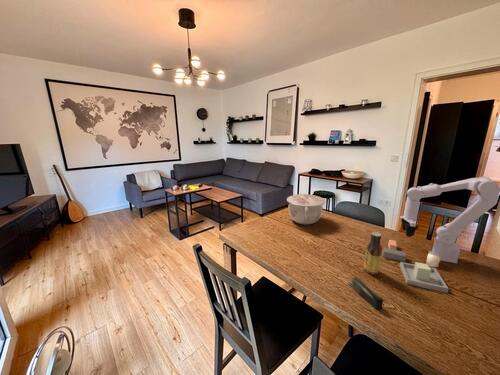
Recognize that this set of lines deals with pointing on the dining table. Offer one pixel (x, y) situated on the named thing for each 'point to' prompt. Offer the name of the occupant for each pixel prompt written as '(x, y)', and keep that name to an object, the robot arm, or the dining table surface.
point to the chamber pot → (305, 208)
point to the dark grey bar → (367, 293)
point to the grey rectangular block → (394, 254)
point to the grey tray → (433, 283)
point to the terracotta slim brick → (392, 244)
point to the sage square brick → (422, 271)
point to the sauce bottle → (373, 254)
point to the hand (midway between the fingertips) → (406, 233)
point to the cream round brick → (433, 260)
